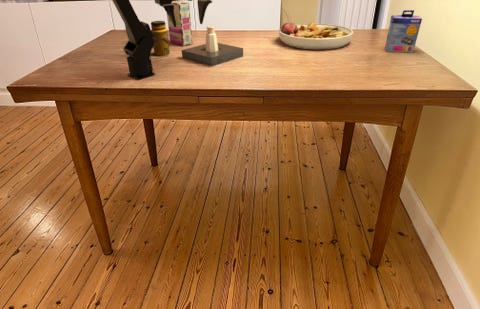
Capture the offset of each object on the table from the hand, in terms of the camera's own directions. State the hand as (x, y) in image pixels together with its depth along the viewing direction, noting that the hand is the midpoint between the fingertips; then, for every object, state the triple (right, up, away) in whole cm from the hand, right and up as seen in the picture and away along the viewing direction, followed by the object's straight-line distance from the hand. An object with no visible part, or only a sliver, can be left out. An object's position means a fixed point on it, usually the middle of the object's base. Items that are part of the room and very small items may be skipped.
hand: (188, 25), depth 110 cm
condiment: (-14, -4, +19) cm, 24 cm away
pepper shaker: (+7, -7, +14) cm, 17 cm away
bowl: (+48, +5, +32) cm, 58 cm away
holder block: (+7, -6, +14) cm, 17 cm away
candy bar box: (-8, +5, +34) cm, 36 cm away
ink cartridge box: (+77, -3, +17) cm, 79 cm away
